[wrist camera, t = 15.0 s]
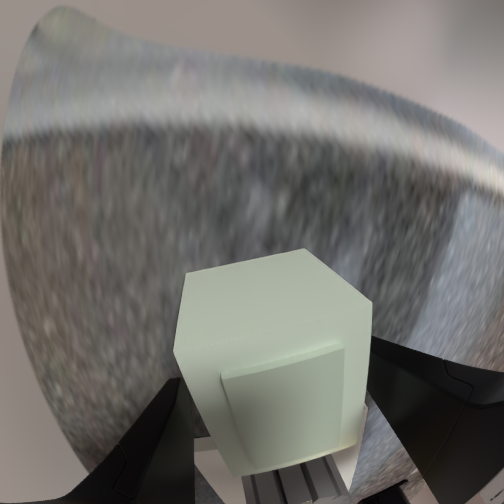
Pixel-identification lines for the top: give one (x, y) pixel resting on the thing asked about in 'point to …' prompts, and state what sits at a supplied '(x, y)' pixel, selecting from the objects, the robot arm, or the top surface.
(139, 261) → the top surface
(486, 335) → the top surface
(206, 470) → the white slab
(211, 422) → the pale green block
